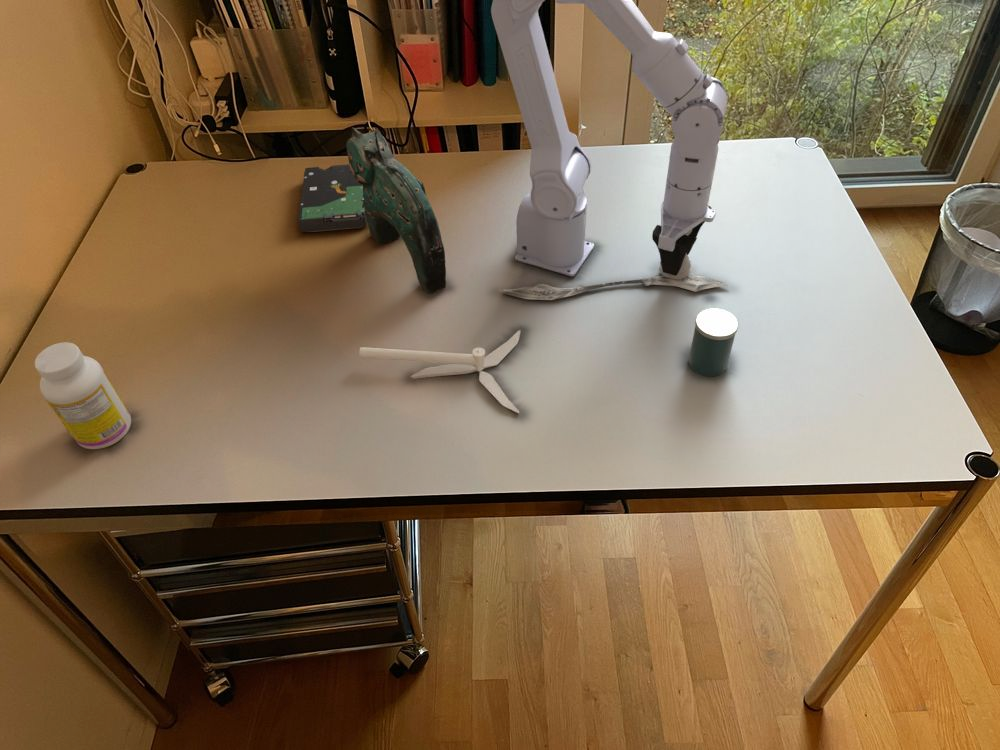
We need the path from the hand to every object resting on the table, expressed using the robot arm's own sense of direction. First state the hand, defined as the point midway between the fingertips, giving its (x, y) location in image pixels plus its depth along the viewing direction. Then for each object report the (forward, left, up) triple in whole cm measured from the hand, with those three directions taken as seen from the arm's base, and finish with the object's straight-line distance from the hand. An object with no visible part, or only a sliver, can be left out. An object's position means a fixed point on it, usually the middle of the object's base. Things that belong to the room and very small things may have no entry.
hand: (676, 262), depth 109 cm
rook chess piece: (0, 0, -2) cm, 2 cm away
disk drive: (-54, -6, -2) cm, 55 cm away
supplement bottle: (-52, -57, -2) cm, 78 cm away
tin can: (+10, -15, -2) cm, 18 cm away
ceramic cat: (-36, -13, -2) cm, 39 cm away
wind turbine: (-20, -30, -2) cm, 36 cm away
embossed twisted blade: (-6, -7, -2) cm, 10 cm away
